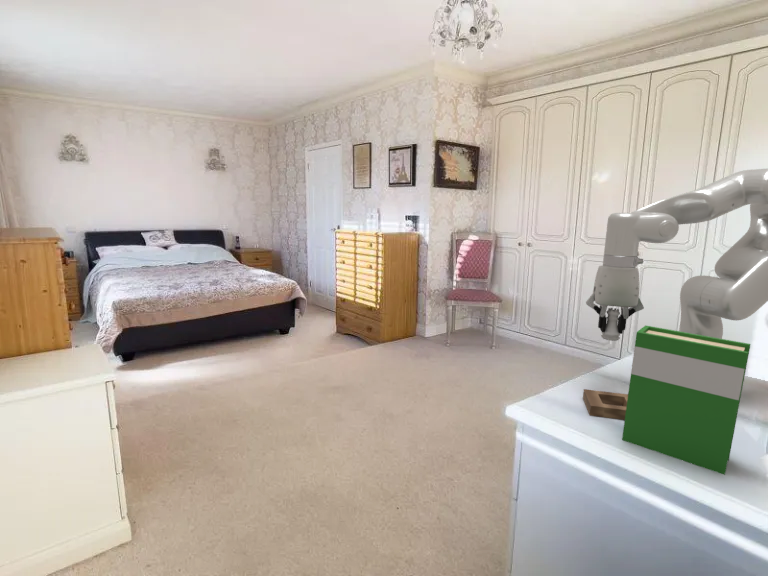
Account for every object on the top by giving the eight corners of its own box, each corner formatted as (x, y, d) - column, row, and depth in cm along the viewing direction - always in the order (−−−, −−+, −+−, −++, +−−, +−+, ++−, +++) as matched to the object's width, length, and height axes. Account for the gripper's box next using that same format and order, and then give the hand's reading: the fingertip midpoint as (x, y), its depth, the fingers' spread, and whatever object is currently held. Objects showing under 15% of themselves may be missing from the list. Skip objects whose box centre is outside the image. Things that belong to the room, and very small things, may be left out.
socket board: (651, 406, 110) (652, 397, 110) (665, 425, 101) (666, 415, 101) (582, 398, 115) (583, 389, 114) (589, 415, 105) (590, 405, 105)
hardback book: (729, 458, 88) (750, 344, 84) (724, 474, 83) (747, 353, 78) (631, 427, 100) (645, 325, 95) (622, 440, 94) (636, 332, 90)
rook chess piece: (621, 341, 113) (625, 311, 112) (603, 340, 114) (606, 310, 113) (616, 336, 118) (620, 307, 116) (598, 335, 118) (602, 306, 117)
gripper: (651, 262, 113) (642, 330, 117) (582, 258, 118) (575, 325, 121) (660, 265, 106) (650, 338, 110) (586, 262, 111) (578, 332, 114)
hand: (611, 330), depth 115 cm, fingers closed on rook chess piece, 3 cm apart
